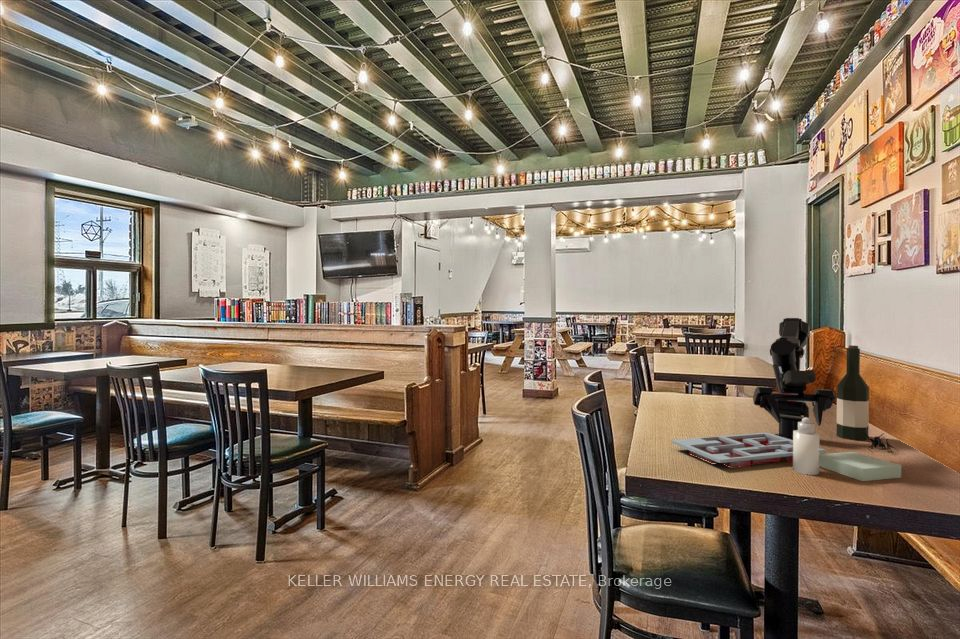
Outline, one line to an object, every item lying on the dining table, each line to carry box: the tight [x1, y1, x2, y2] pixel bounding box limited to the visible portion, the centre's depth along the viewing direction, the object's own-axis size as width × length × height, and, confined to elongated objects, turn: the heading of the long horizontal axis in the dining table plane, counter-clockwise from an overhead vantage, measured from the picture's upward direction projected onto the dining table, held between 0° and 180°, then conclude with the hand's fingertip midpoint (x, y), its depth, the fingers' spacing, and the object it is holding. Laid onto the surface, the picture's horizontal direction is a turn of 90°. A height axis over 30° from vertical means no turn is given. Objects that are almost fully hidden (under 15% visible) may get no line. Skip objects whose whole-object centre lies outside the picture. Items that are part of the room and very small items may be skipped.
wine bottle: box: [836, 344, 870, 442], centre depth 156 cm, size 8×8×30 cm
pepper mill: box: [792, 416, 820, 476], centre depth 123 cm, size 6×6×14 cm
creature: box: [862, 432, 899, 454], centre depth 141 cm, size 8×5×8 cm
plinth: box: [819, 451, 902, 482], centre depth 123 cm, size 12×12×3 cm
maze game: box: [670, 431, 826, 468], centre depth 138 cm, size 35×20×3 cm, turn 105°
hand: (799, 423), depth 127 cm, fingers open, 9 cm apart
